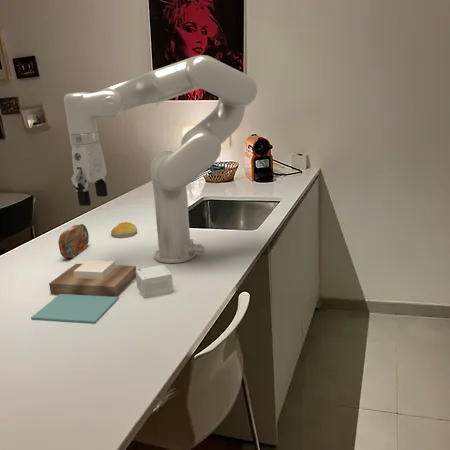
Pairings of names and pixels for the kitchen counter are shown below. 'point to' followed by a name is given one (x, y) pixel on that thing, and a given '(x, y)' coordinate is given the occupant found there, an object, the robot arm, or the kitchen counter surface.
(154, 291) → the small box
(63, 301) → the mat
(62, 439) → the kitchen counter surface
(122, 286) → the board
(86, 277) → the tile
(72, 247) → the tin
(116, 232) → the bread roll
